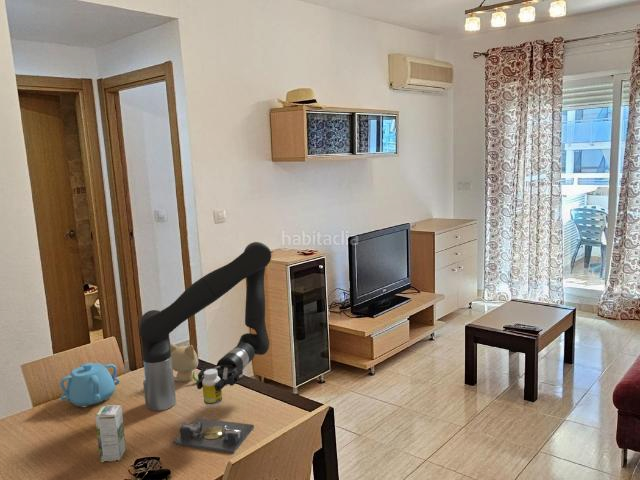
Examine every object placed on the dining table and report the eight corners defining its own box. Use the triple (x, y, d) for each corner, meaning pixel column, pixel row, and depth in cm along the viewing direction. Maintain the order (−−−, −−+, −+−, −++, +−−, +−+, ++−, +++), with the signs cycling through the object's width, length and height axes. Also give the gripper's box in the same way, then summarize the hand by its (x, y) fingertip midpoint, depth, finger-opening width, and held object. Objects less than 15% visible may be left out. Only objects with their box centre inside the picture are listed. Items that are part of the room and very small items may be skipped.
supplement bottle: (218, 407, 150) (215, 375, 148) (201, 406, 151) (197, 375, 150) (225, 398, 155) (222, 367, 154) (208, 397, 157) (205, 367, 155)
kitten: (210, 376, 199) (207, 339, 196) (197, 387, 189) (193, 349, 187) (177, 372, 203) (173, 337, 201) (162, 384, 194) (158, 346, 191)
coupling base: (173, 444, 153) (171, 430, 152) (197, 420, 166) (196, 407, 165) (233, 453, 147) (232, 438, 146) (254, 427, 160) (253, 414, 159)
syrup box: (106, 451, 151) (100, 405, 149) (127, 449, 152) (121, 404, 149) (100, 462, 146) (93, 415, 143) (121, 460, 146) (115, 413, 144)
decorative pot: (97, 412, 175) (92, 375, 172) (57, 409, 178) (51, 372, 176) (125, 390, 190) (121, 356, 188) (87, 387, 194) (83, 354, 192)
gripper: (212, 350, 167) (184, 373, 151) (252, 353, 163) (228, 377, 147) (214, 372, 169) (187, 396, 153) (254, 375, 164) (230, 401, 148)
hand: (207, 387), depth 150 cm, fingers closed on supplement bottle, 5 cm apart
